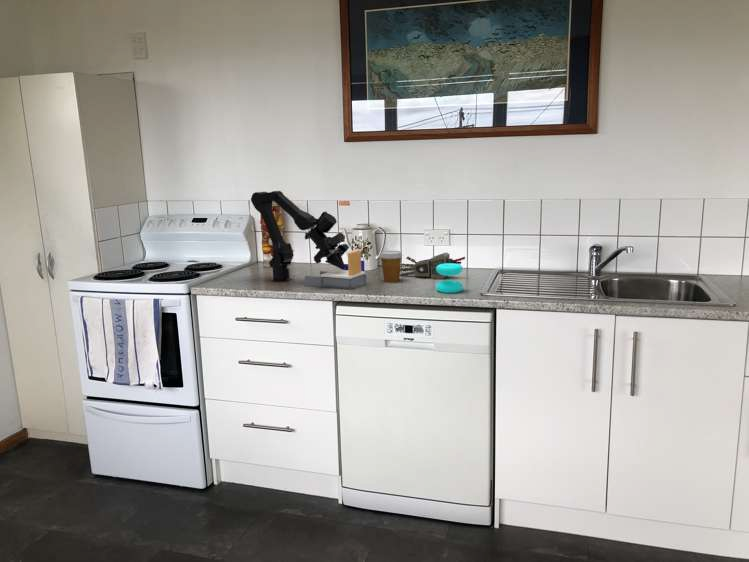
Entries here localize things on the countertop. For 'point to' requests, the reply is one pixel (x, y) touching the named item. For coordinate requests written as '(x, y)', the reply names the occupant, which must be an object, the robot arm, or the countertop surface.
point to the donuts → (449, 285)
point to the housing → (335, 281)
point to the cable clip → (361, 266)
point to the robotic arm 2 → (429, 266)
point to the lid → (353, 267)
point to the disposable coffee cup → (391, 265)
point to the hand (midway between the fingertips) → (344, 268)
